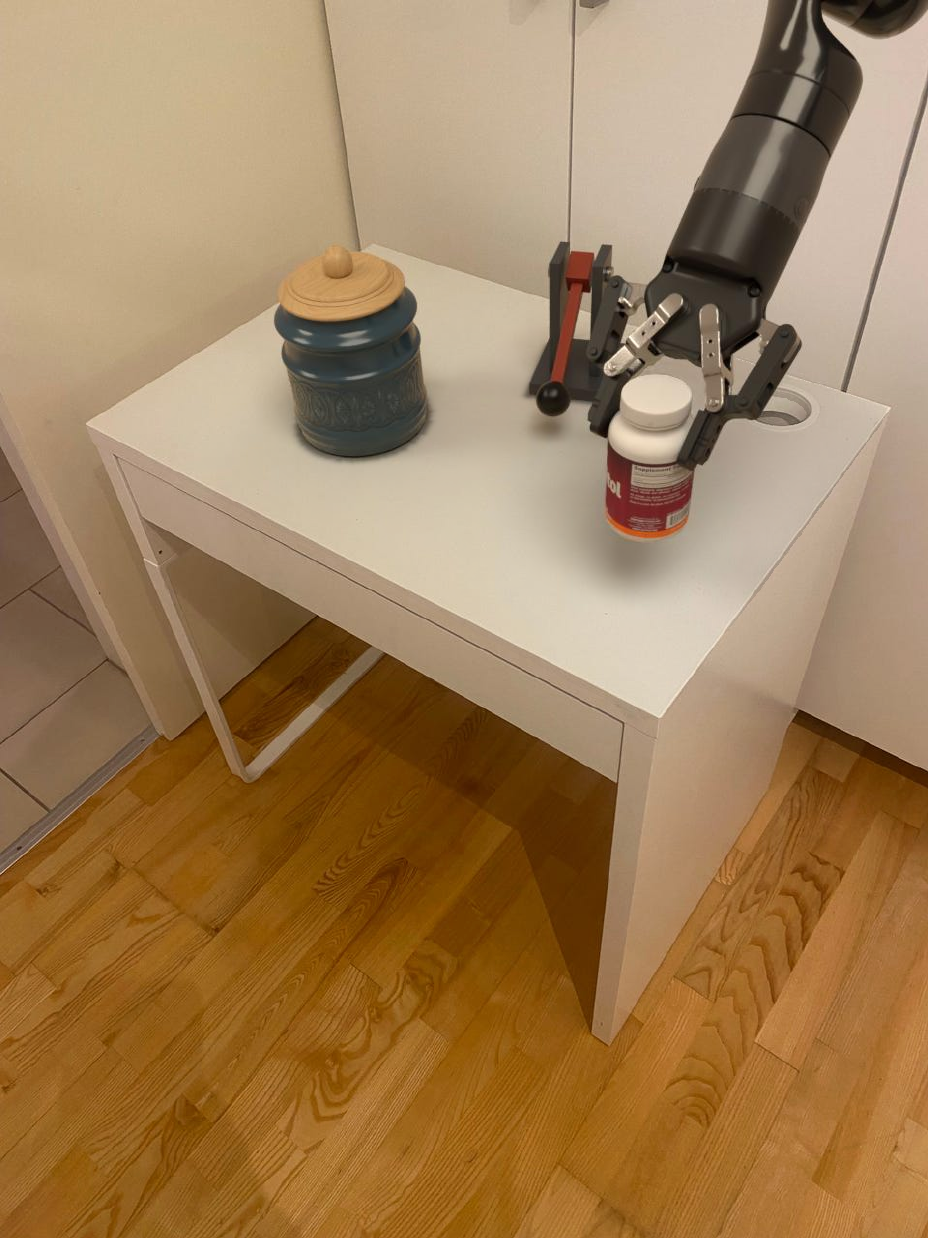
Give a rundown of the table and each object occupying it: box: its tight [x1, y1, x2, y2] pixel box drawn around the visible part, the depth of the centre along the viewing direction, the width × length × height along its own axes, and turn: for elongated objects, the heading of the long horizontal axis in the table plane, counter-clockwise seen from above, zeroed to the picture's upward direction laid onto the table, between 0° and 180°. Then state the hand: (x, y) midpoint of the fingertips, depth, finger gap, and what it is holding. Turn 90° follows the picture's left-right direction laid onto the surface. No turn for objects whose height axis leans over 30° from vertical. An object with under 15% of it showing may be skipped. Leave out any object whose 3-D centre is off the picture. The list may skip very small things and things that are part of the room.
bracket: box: [528, 241, 626, 402], centre depth 93 cm, size 9×8×13 cm
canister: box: [273, 245, 429, 457], centre depth 88 cm, size 13×13×18 cm
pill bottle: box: [604, 373, 696, 544], centre depth 67 cm, size 6×6×11 cm
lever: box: [535, 250, 596, 418], centre depth 89 cm, size 16×3×3 cm
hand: (639, 449), depth 65 cm, fingers closed on pill bottle, 6 cm apart
